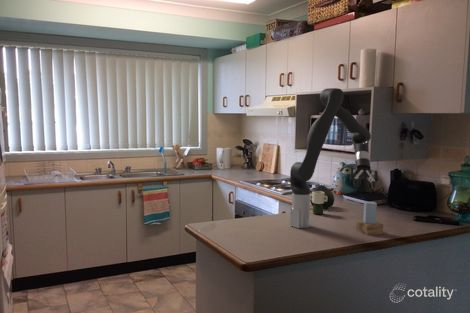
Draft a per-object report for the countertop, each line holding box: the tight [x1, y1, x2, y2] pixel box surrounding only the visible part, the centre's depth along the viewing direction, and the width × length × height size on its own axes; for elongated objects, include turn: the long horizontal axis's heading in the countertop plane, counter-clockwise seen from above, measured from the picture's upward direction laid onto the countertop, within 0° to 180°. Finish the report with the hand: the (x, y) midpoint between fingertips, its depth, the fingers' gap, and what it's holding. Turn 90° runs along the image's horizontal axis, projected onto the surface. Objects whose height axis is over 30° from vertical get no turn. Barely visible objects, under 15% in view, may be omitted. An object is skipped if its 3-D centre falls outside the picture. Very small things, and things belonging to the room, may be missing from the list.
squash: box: [310, 184, 335, 210], centre depth 259 cm, size 14×15×15 cm
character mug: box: [310, 191, 327, 215], centre depth 241 cm, size 11×7×13 cm, turn 60°
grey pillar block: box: [362, 201, 378, 224], centre depth 202 cm, size 5×5×10 cm
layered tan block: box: [355, 220, 384, 236], centre depth 203 cm, size 9×9×5 cm
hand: (364, 187), depth 211 cm, fingers open, 8 cm apart
